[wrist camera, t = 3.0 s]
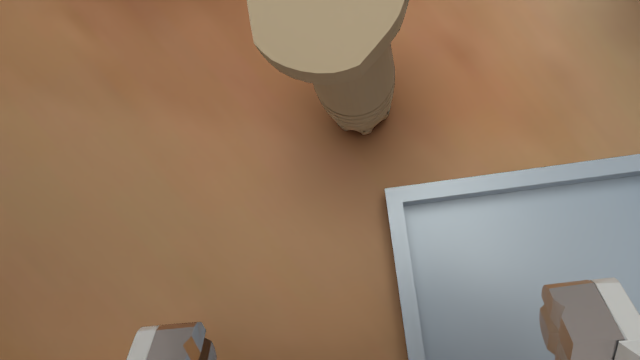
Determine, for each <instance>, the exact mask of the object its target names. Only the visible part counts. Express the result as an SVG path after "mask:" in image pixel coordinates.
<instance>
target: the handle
mask: <svg viewBox="0 0 640 360" xmlns="http://www.w3.org/2000/svg"><path fill="white" fill-rule="evenodd" d="M408 2H409V0H247V5H248V12H249V18H250V24H251V29H252V35H253V40H254V44H255V45H256V47H257V48H258V50H259V51H260V53H261V54H262V55H263V56H264V57H265V58H266V60H267V61H268V62H269V63H270V64H271V65H273V66H274V67H275V68H276V69H277V70H279V71H280V72H282V73H284V74H286V75H288V76H290V77H292V78H294V79H298V80H301V81H304V82H308V83H313V85H314V88H315V91H316V93H317V96H318V98H319V100H320V102H321V104H322V105H323V107H324V108H325V110H326V111H327V113H328V114H329V115H330V116H331V117H332V118H333V119H334V120H335V121H336V122H337V124H338V125H339V126H340V127H341V128H342V129H343V130H345V131H348V130H355V131H358V132H360V133H362V134H363V135H366V134H370V133H371V132H372V129H373V128H374V127H375V126H376V125H377V124H378V123H379V122H381V121H382V120H385V119H386V118H387V116H388V114H389V112H390V107H391V106H390V105H391V102H392V98H393V92H394V85H395V67H394V61H393V55H392V50H391V44H390V43H391V41H392V40H393V39H394V37H395V36H396V34H397V33H398V31H399V30H400V27H401V25H402V22H403V19H404V16H405V13H406V9H407V6H408Z"/></svg>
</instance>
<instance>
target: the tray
mask: <svg viewBox="0 0 640 360" xmlns="http://www.w3.org/2000/svg"><path fill="white" fill-rule="evenodd" d="M385 195H386V202H387V209H388V216H389V224H390V231H391V238H392V245H393V252H394V259H395V267H396V274H397V281H398V288H399V295H400V302H401V310H402V317H403V324H404V331H405V338H406V345H407V352H408V360H555V355H554V354H553V353H551V352H550V351H549V350H547V348H546V345H545V343H544V340H543V337H542V333H541V329H540V321H539V313H540V308H541V307H542V306H543V305H544V302H543V299H542V297H541V293H542V288H543V286H544V285H547V284H556V283H564V282H572V281H581V280H594V279H603V278H613V277H614V278H616V279H617V280H618V281H619V282H620V284H621V285H622V287H623V289H624V290H625V292H626V294H627V295H628V297H629V298H630V300H631V302H632V303H633V305H634V307H635V308H636V310H637V312H638V313H639V315H640V154H636V155H629V156H622V157H614V158H607V159H599V160H592V161H585V162H577V163H570V164H563V165H555V166H548V167H541V168H533V169H526V170H518V171H511V172H504V173H496V174H489V175H482V176H474V177H467V178H460V179H452V180H445V181H437V182H430V183H423V184H415V185H408V186H401V187H393V188H386V189H385Z"/></svg>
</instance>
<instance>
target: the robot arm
mask: <svg viewBox="0 0 640 360" xmlns="http://www.w3.org/2000/svg"><path fill="white" fill-rule="evenodd" d="M541 297H542V299H543V302H544V305H543V306H542V307H541V308H540V313H539V321H540V329H541V333H542V337H543V340H544V343H545V345H546V348H547V350H549V351H550V352H551V353H553V354H554V355H555V360H640V315H639V313H638V312H637V310H636V308H635V307H634V305H633V303H632V302H631V300H630V298H629V297H628V295H627V294H626V292H625V290H624V289H623V287H622V285H621V284H620V282H619V281H618V280H617V279H616V278H614V277H613V278H603V279H594V280H581V281H572V282H564V283H556V284H547V285H544V286H543V288H542V293H541ZM205 333H206V329H205V328H204V326H203V324H202V322H194V323H181V324H168V325H157V326H146V327H141V328H140V329H139V330H138V331H137V333H136V335H135V338H134V340H133V343H132V346H131V348H130V351H129V354H128V356H127V359H126V360H217V356H216V352H215V348H214V346H213V343H212V342H211V341H210V340H208V339H206V338H205Z"/></svg>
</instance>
